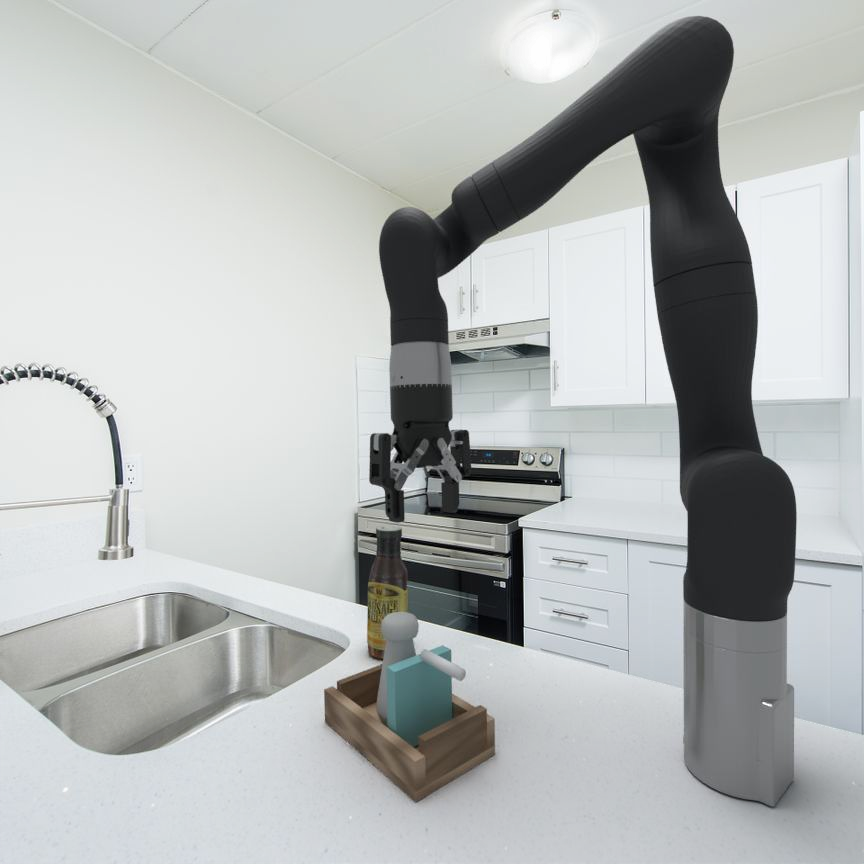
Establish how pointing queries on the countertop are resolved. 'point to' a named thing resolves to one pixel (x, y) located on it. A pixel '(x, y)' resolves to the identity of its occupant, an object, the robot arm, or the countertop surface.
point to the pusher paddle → (421, 693)
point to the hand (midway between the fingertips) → (424, 516)
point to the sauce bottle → (385, 586)
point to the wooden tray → (403, 764)
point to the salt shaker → (395, 650)
